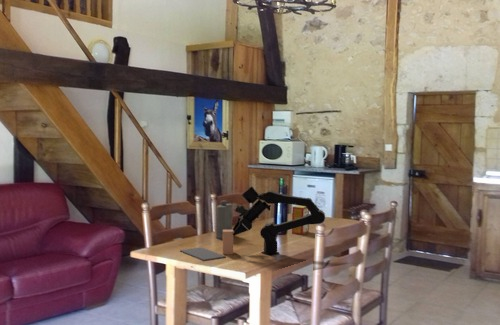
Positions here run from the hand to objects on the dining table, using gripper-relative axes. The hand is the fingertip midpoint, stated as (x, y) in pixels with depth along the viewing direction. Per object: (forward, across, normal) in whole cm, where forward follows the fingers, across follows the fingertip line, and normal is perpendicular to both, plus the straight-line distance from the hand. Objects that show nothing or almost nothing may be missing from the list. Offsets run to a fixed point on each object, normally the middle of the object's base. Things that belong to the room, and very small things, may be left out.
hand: (232, 232), depth 259 cm
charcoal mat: (+17, +3, -3) cm, 18 cm away
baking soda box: (-22, -50, +36) cm, 66 cm away
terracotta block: (+9, 0, +5) cm, 10 cm away
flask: (+10, -39, +4) cm, 41 cm away
